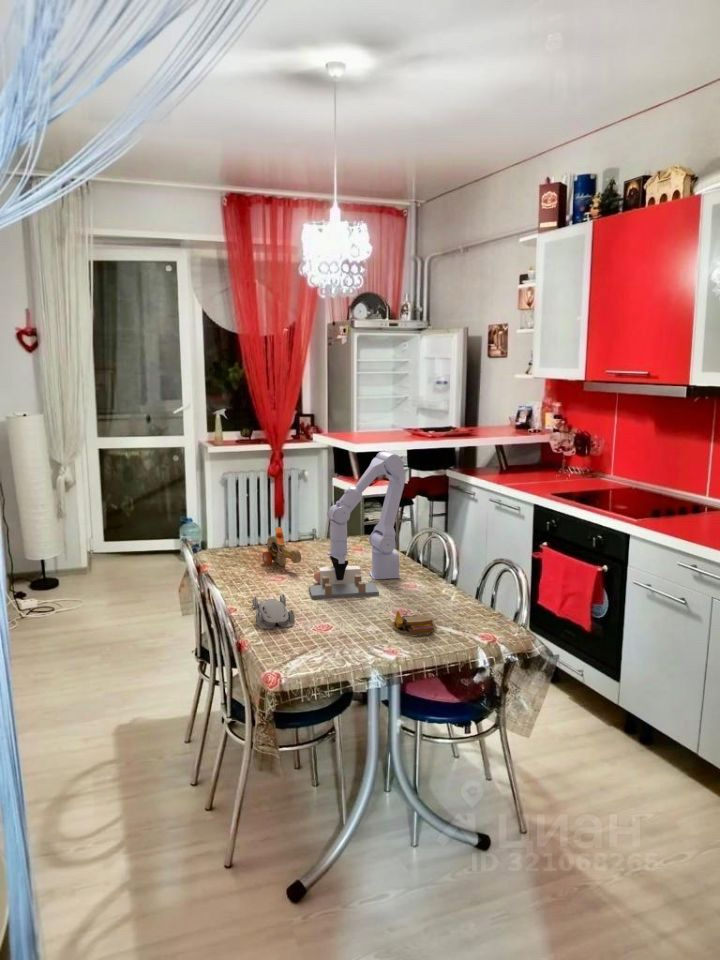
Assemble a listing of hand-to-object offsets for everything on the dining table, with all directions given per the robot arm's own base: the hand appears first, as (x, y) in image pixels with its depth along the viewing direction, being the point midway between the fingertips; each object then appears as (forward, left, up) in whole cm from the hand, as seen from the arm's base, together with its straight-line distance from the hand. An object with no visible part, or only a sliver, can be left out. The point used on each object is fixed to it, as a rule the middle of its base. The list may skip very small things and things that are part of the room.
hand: (339, 577), depth 250 cm
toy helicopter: (+18, -22, -2) cm, 28 cm away
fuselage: (0, 0, -2) cm, 2 cm away
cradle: (0, +11, -1) cm, 11 cm away
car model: (+24, +29, -2) cm, 38 cm away
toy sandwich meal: (-16, +46, -2) cm, 49 cm away
